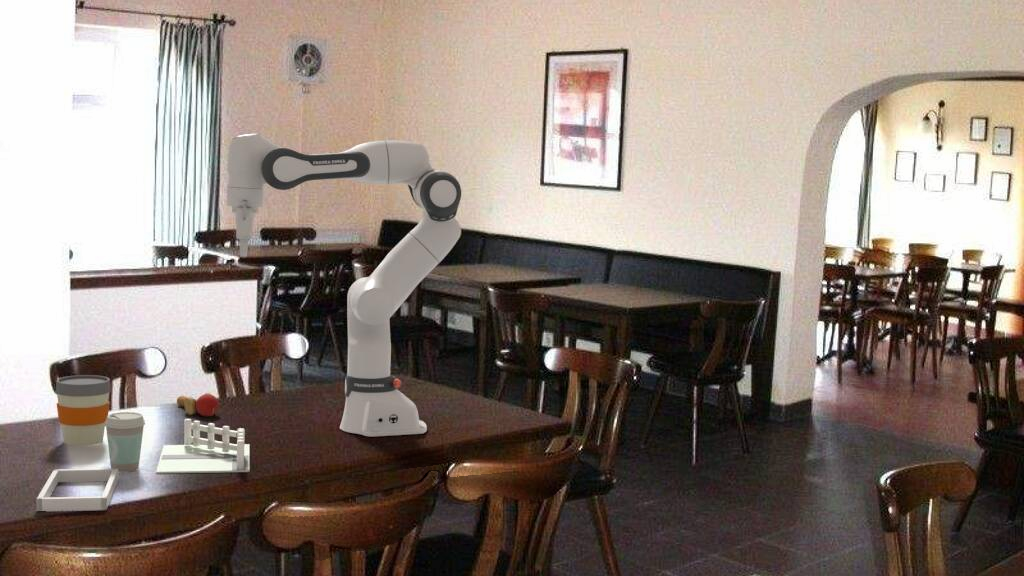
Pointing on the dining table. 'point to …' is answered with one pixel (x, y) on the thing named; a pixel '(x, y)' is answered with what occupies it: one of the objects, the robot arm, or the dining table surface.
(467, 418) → the dining table surface
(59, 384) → the reusable coffee cup
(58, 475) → the rim
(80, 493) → the dining table surface
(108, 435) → the coffee cup
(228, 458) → the card
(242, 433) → the fence fixed
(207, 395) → the kendama
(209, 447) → the white toy fence
